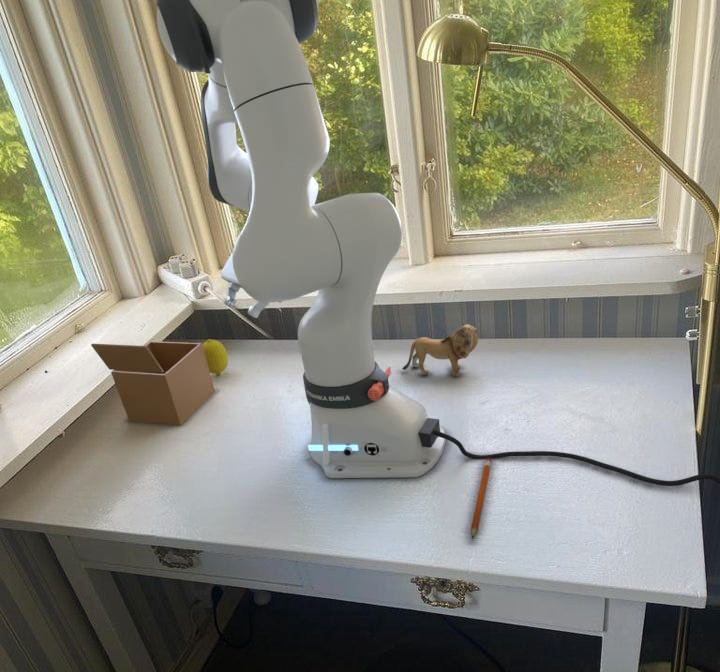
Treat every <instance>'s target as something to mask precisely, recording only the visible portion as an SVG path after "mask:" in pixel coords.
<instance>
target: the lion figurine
mask: <svg viewBox="0 0 720 672" xmlns="http://www.w3.org/2000/svg"><path fill="white" fill-rule="evenodd" d="M477 331H478V330H477V328H476V327H474V326H473V325H471V324H464V325H461V326H459V328H458V329H457V330H456V331H454V332H453V333H452V334H449V335H447V337H445V338H444V339H433V338H430V337H426V336H422V337H419V338H416V339H415V340H414V341H413V342H412V344H411V346H410V350H409V356H408V361H407V363H406V364H405V365H403V366H402V368H401V369H402V370H407V369H408V368H409V367H410V365H412V367H413V368H419V371H420V373H421V374H422V375H423V376H428V375H429V373H430V372H429V370H426V369H425V367H424V364H425V361H426V357H427V355H429V356H431V357H432V358H434V359H436V360H449V362H450V365H451V371H452V374H453V376H455V377H459V376H461V372H460V371H459V370H460V369H461V366H460V365H459V360H462V359H467V358H468V357H469V355H470V353H472V352H473V351H474V350H476V348H477V345H478V343H479V337H478V333H477ZM414 352H415V354H414ZM417 361H418V362H417Z"/></svg>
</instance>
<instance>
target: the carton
mask: <svg viewBox="0 0 720 672" xmlns="http://www.w3.org/2000/svg"><path fill="white" fill-rule="evenodd" d="M202 345H203V343H202V342H183V341H182V342H181V341H155V340H149V342H147V343H146V344H144V346H147V347H148V348H149V350H150V351H151V353H152V354H153V356H154V357H155V359H156V360H157V362H158V363H159V365H160V366H161V368H162V369H163V371H164V372H163V373H160V372H143V371H127V370H111V371H110V374H111V376H112V379H113V381H114V384H115V386H116V390H117V393H118V395H119V398H120V400H121V404H122V406H123V408H124V411H125V414H126V417H127V419H128V421H130V422H139V423H140V422H141V423H150V424H161V425H162V424H163V425H173V426H182V425H183V424H184V423H185V422H186V421H187V420H188V419H189V418H190V417H191V416H192V415H193V414H194V413H195V412H196V411H197V410H198V409H199V408H200V407H201V406H202V405H203V404H205V402H206V401H207V400H208V399H209V398H210V397H211V396H212V395H214V393H215V392H216V390H215V386H214V383H213V379H212V375H211V373H210V371H209V367H208V364H207V360H206V357H205V353H204V350H203V346H202Z"/></svg>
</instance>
